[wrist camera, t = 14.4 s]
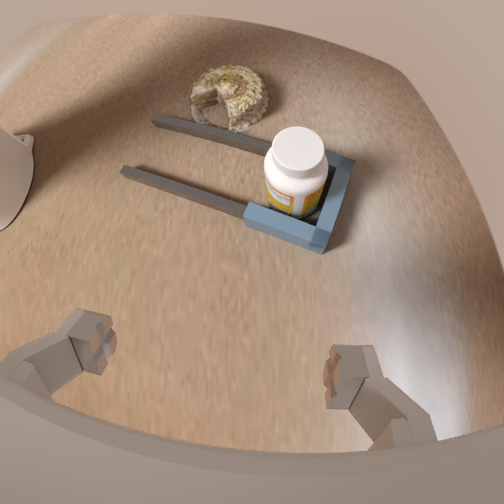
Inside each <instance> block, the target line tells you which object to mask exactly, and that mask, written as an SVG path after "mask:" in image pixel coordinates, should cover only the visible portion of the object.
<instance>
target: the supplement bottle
mask: <svg viewBox="0 0 504 504" xmlns="http://www.w3.org/2000/svg"><path fill="white" fill-rule="evenodd" d="M324 153H325V148H324V144H323V141H322V139H321V138H320V137H319V136H318V134H316V133H315V132H314V131H312V130H310V129H308V128H304V127H289V128H286V129H284V130H282V131H280V132H279V133H278V134H277V135H276V136H275V138H274V140H273V143H272V147H271V148H270V149H269V150H268V152H267V154H266V156H265V161H264V172H265V182H266V192H267V199H268V202H269V205H270V206H271V208H272V209H273V210H274V211H276V212H279V213H281V214H284V215H287V216H289V217H292V218H295V219H300V218H303V217H306V216H307V215H309V214H310V213H312V212H313V211H314V209H315V208H316V206H317V204H318V202H319V199H320V196H321V193H322V190H323V187H324V184H325V181H326V178H327V174H328V161H327V158H326V156H325V154H324Z"/></svg>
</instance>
